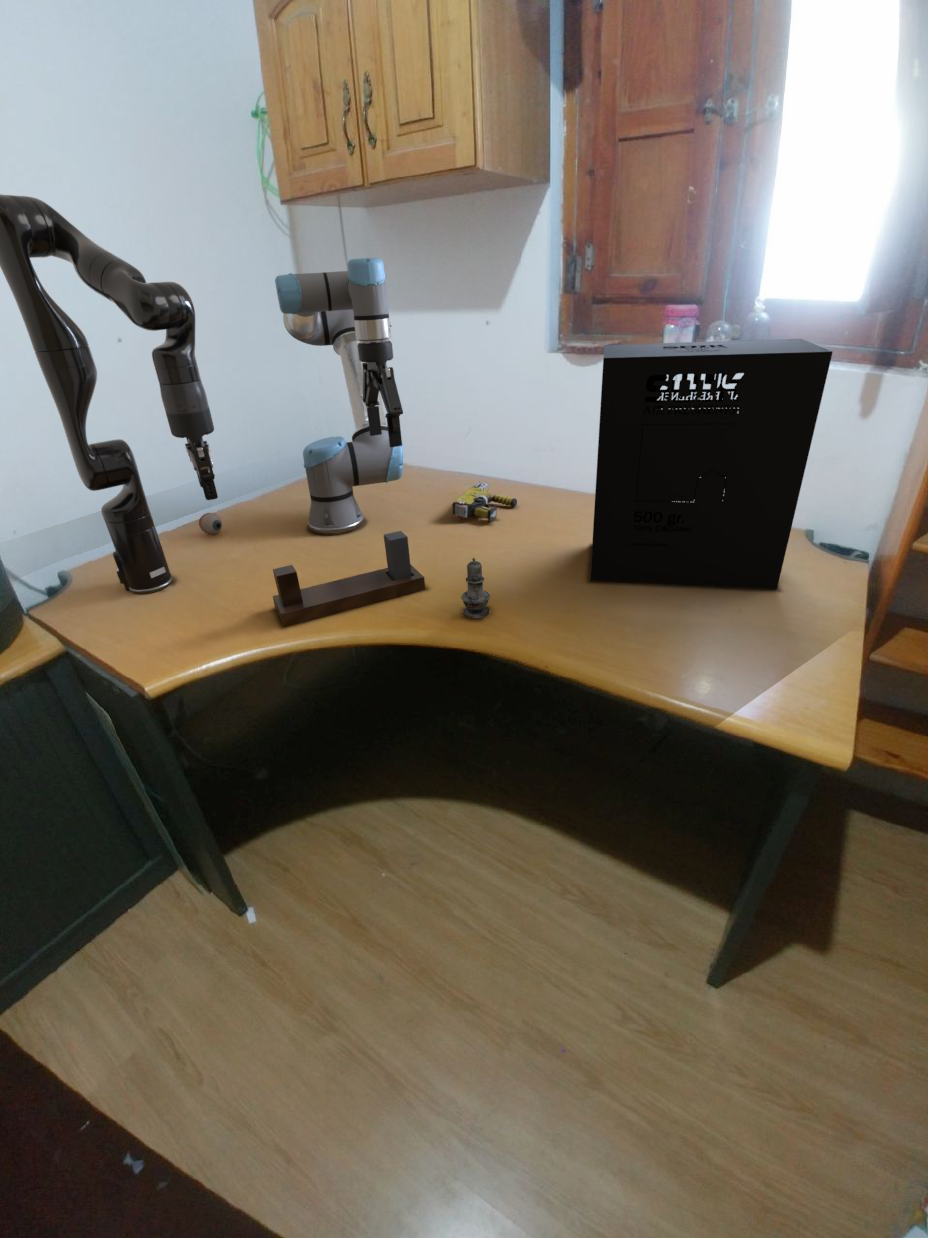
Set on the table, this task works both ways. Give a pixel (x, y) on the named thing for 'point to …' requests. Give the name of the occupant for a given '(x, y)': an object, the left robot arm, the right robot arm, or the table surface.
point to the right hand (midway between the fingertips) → (385, 440)
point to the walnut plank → (337, 593)
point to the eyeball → (210, 523)
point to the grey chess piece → (475, 592)
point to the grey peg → (397, 555)
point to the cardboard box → (703, 460)
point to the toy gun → (479, 503)
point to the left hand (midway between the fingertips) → (209, 492)
